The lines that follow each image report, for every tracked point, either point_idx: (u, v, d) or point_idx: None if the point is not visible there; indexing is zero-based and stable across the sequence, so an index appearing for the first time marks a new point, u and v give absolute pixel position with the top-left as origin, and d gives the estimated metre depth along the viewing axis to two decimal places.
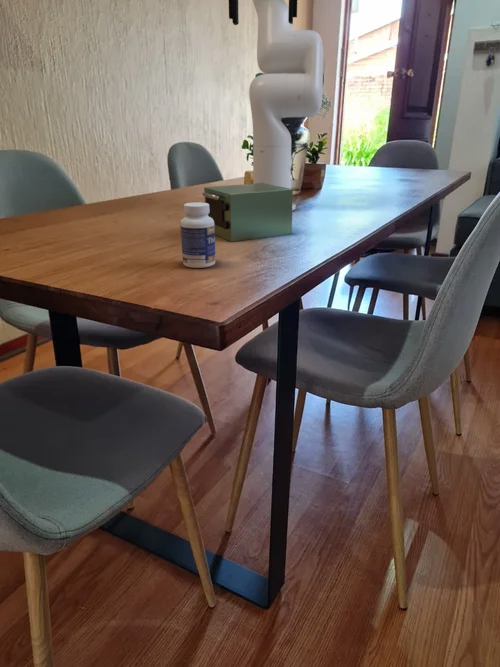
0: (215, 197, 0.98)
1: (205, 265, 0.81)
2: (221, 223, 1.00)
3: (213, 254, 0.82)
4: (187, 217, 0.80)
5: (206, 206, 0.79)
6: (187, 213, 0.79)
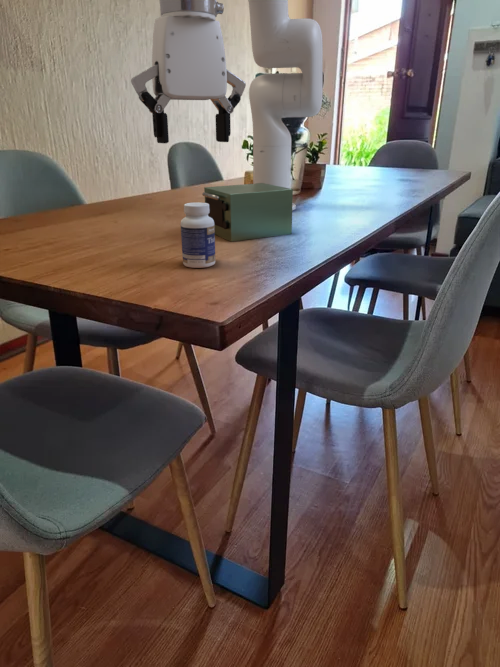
0: (215, 197, 0.98)
1: (205, 265, 0.81)
2: (221, 223, 1.00)
3: (213, 254, 0.82)
4: (187, 217, 0.80)
5: (206, 206, 0.79)
6: (187, 213, 0.79)
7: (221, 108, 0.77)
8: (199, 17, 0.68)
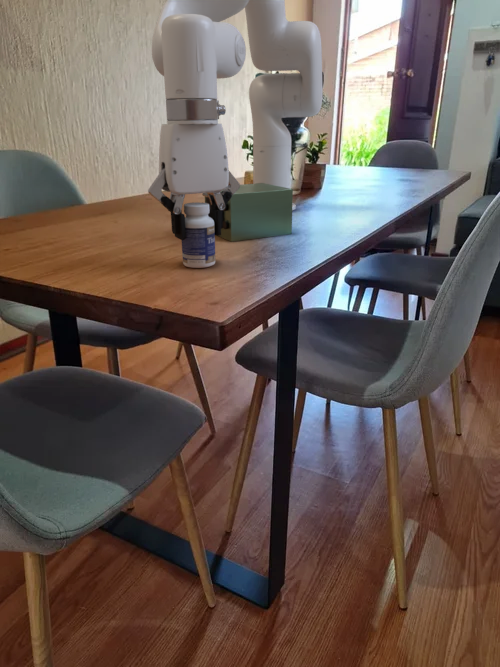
0: None
1: (205, 265, 0.81)
2: None
3: (213, 254, 0.82)
4: (187, 217, 0.80)
5: (206, 206, 0.79)
6: (187, 213, 0.79)
7: (214, 203, 0.81)
8: (203, 123, 0.73)
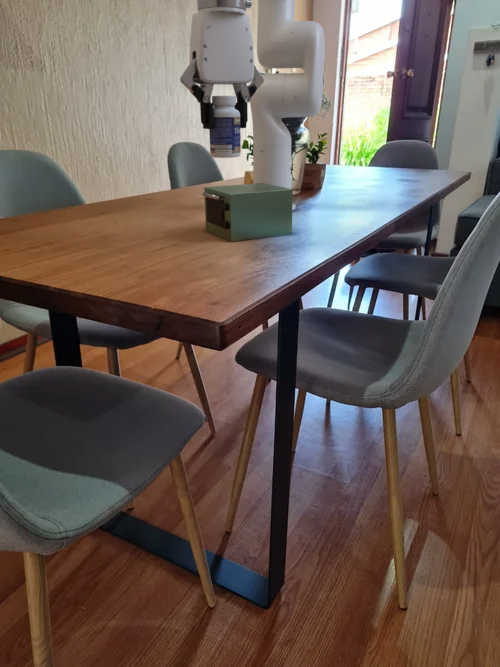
0: (215, 197, 0.98)
1: (232, 155, 0.87)
2: (221, 223, 1.00)
3: (239, 145, 0.88)
4: (215, 108, 0.85)
5: (233, 96, 0.85)
6: (215, 103, 0.85)
7: (240, 96, 0.87)
8: (231, 12, 0.79)
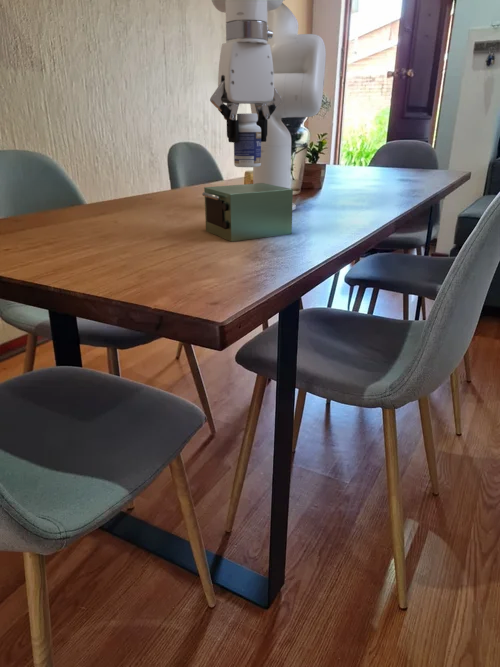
0: (215, 197, 0.98)
1: (253, 165, 0.99)
2: (221, 223, 1.00)
3: (260, 156, 1.00)
4: (240, 124, 0.97)
5: (255, 114, 0.97)
6: (240, 120, 0.97)
7: (261, 114, 0.99)
8: (256, 42, 0.91)
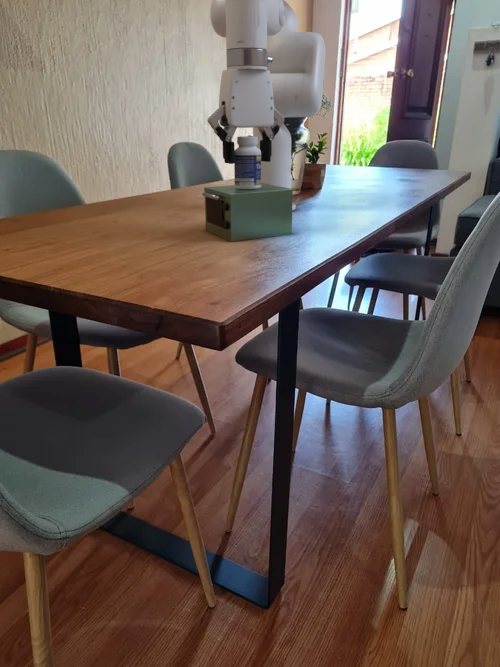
0: (215, 197, 0.98)
1: (253, 187, 1.01)
2: (221, 223, 1.00)
3: (260, 178, 1.01)
4: (240, 147, 0.99)
5: (255, 137, 0.98)
6: (240, 143, 0.98)
7: (265, 135, 1.01)
8: (256, 69, 0.93)
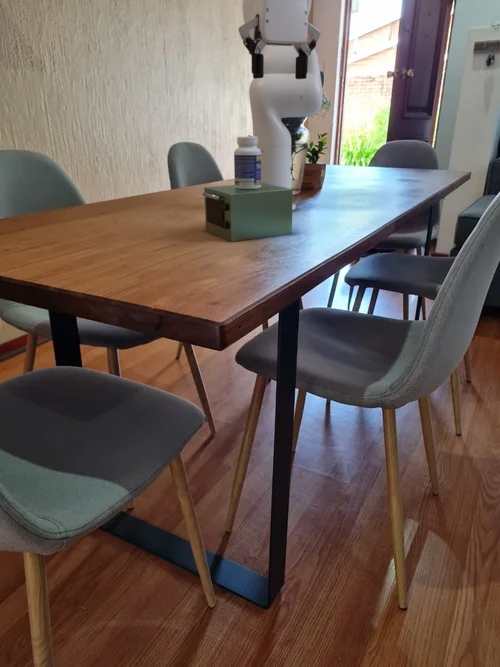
0: (215, 197, 0.98)
1: (253, 187, 1.01)
2: (221, 223, 1.00)
3: (260, 178, 1.01)
4: (240, 147, 0.99)
5: (255, 137, 0.98)
6: (240, 143, 0.98)
7: (301, 52, 1.00)
8: None
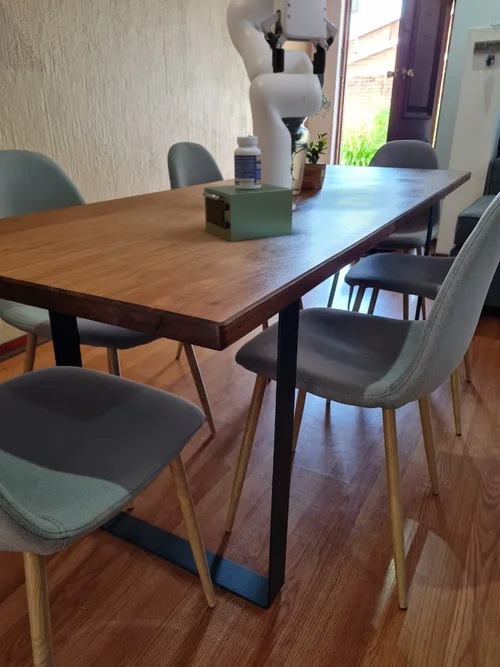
0: (215, 197, 0.98)
1: (253, 187, 1.01)
2: (221, 223, 1.00)
3: (260, 178, 1.01)
4: (240, 147, 0.99)
5: (255, 137, 0.98)
6: (240, 143, 0.98)
7: (319, 47, 1.02)
8: None
